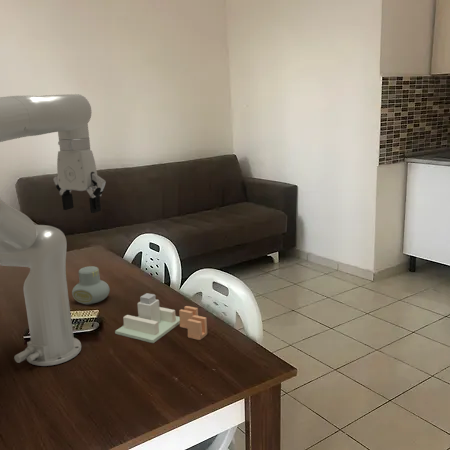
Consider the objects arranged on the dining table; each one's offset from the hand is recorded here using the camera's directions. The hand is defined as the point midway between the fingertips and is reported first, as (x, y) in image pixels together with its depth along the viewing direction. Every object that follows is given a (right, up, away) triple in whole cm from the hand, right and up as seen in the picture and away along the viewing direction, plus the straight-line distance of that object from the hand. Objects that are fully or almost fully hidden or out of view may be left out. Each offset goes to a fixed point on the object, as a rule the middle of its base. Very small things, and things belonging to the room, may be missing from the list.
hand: (82, 210), depth 130 cm
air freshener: (-2, -27, +18) cm, 33 cm away
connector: (+18, -30, 0) cm, 35 cm away
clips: (+30, -31, -3) cm, 43 cm away
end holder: (+18, -31, 0) cm, 36 cm away
